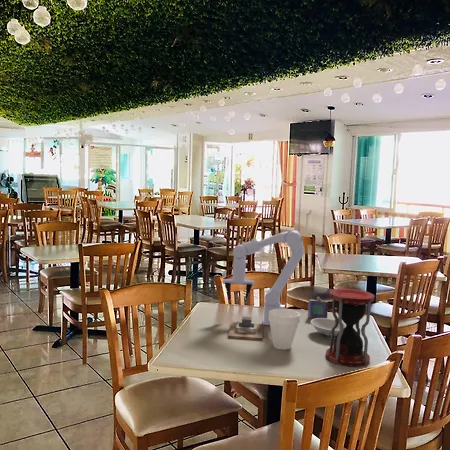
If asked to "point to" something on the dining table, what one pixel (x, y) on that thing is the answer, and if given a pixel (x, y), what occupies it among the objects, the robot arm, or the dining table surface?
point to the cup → (283, 327)
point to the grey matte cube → (246, 322)
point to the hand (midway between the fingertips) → (237, 299)
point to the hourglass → (349, 327)
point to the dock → (246, 331)
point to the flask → (317, 308)
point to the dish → (325, 326)
